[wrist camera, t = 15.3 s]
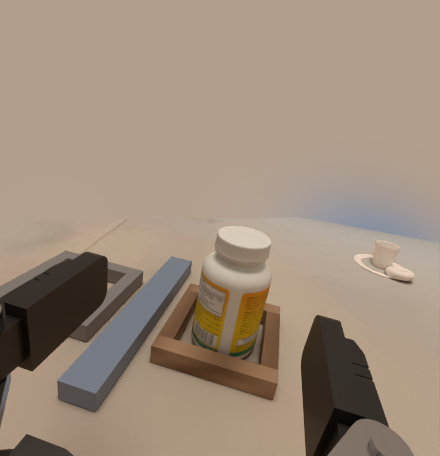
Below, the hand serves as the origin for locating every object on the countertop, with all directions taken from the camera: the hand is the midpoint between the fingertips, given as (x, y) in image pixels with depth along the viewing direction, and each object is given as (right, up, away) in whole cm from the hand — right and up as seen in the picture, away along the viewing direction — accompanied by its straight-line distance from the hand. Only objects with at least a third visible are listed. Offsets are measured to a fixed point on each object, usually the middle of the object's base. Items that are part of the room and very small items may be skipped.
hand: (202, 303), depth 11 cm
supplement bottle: (+1, -7, +14) cm, 15 cm away
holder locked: (+1, -7, +14) cm, 15 cm away
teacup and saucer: (+23, -4, +32) cm, 40 cm away
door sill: (-6, -5, +15) cm, 17 cm away
